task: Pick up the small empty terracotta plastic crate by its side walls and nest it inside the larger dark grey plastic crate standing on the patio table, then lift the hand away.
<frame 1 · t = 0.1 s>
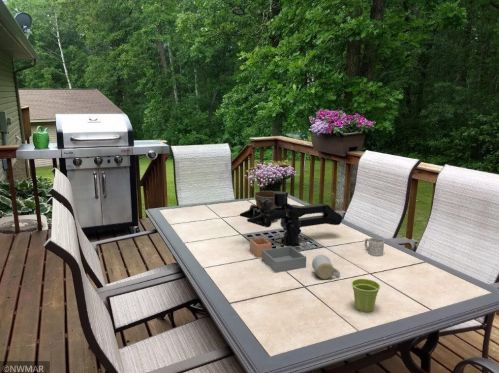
hand: (243, 217, 183), 17 cm above the table, tool horizontal, fingers open, 9 cm apart
plant pot 2: (364, 308, 135), on the table
small crate: (260, 253, 184), on the table
plant pot: (267, 220, 235), on the table
mug: (372, 253, 185), on the table
ceramic mug: (325, 276, 161), on the table
big crate: (283, 264, 172), on the table
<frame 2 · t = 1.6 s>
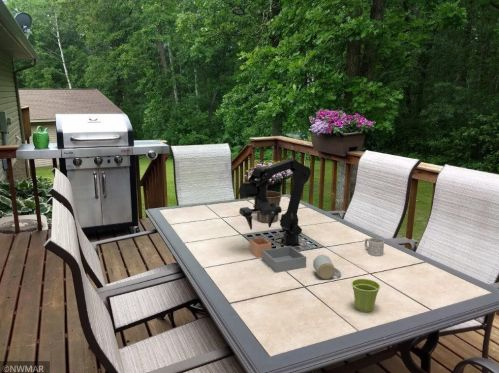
hand: (260, 228, 182), 12 cm above the table, tool pointing down, fingers open, 9 cm apart
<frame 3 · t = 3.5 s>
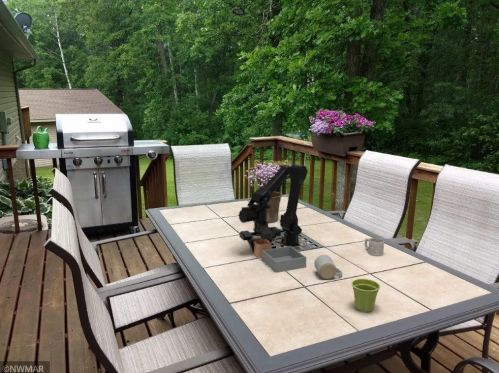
hand: (260, 251, 184), 1 cm above the table, tool pointing down, fingers closed on small crate, 7 cm apart
small crate: (260, 253, 184), on the table, touching gripper
when the fingers open (3 cm above the table, at t = 8.0 s): small crate drops 2 cm, resting on big crate.
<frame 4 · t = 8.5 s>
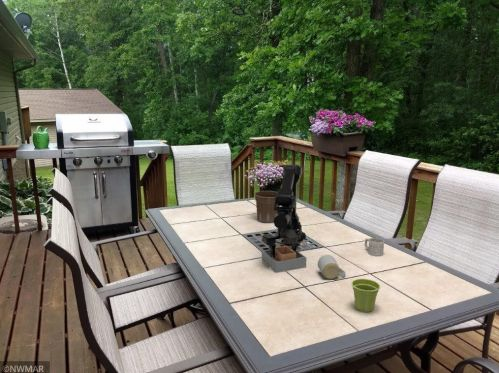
hand: (283, 256, 171), 3 cm above the table, tool pointing down, fingers open, 9 cm apart
small crate: (283, 263, 172), resting on big crate
ceramic mug: (331, 276, 161), on the table
big crate: (283, 264, 172), on the table, touching small crate
everything else where it was.
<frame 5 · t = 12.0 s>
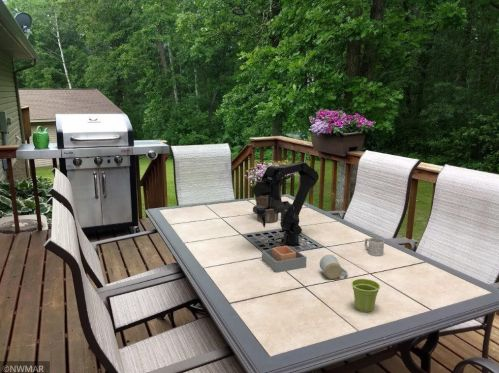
hand: (273, 226, 185), 12 cm above the table, tool pointing down, fingers open, 9 cm apart
at the end: small crate 0.1 cm off-centre on the big crate, point 0.6 cm above the big crate's base; small crate tilted 0°; the gripper is holding nothing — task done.
